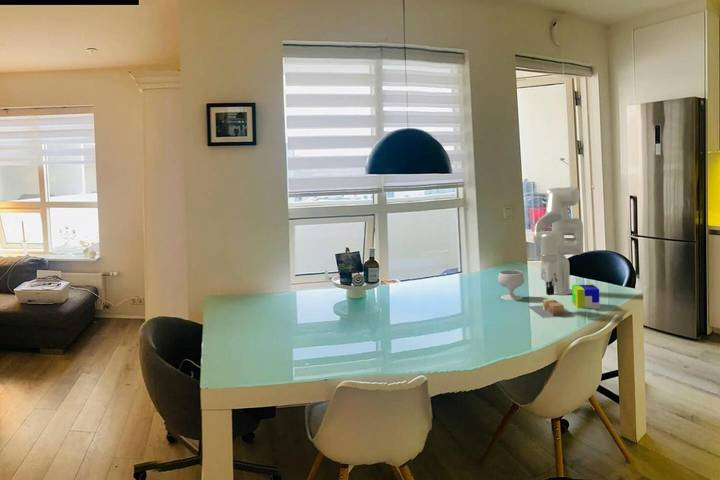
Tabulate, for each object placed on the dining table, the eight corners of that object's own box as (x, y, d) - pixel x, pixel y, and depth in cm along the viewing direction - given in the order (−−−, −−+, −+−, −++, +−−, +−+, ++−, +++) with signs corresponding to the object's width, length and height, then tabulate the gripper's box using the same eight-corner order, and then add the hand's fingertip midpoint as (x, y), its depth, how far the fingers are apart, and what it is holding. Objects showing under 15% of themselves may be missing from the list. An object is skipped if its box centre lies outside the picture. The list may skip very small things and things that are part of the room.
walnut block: (542, 299, 224) (553, 306, 212) (552, 298, 224) (563, 305, 212) (543, 309, 224) (553, 316, 213) (553, 308, 224) (563, 315, 212)
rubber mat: (527, 307, 231) (527, 306, 231) (558, 305, 231) (558, 304, 231) (542, 319, 211) (542, 317, 211) (576, 316, 211) (576, 315, 211)
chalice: (530, 298, 248) (529, 271, 246) (514, 303, 240) (513, 276, 239) (508, 294, 260) (508, 268, 258) (493, 298, 252) (492, 272, 250)
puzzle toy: (599, 309, 221) (599, 289, 220) (577, 309, 223) (577, 289, 222) (593, 303, 231) (592, 284, 229) (572, 303, 233) (572, 285, 231)
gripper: (536, 256, 226) (536, 291, 228) (548, 261, 211) (548, 299, 213) (550, 255, 226) (551, 290, 228) (564, 260, 211) (564, 298, 213)
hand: (550, 294), depth 221 cm, fingers closed
